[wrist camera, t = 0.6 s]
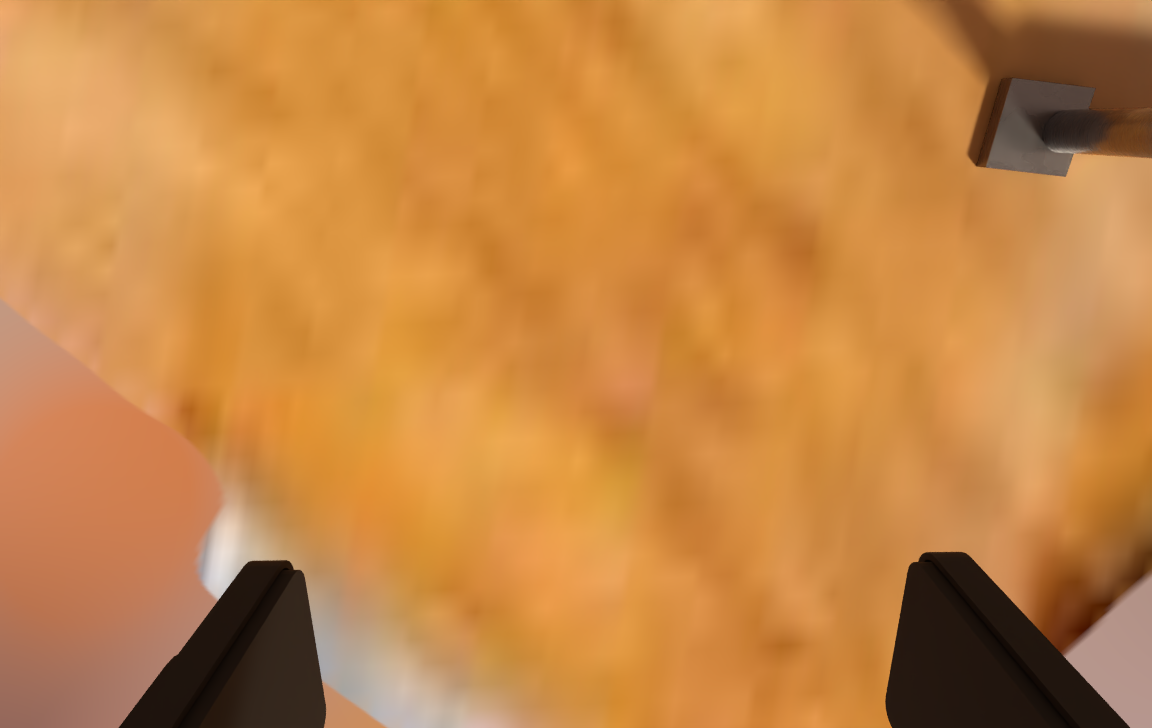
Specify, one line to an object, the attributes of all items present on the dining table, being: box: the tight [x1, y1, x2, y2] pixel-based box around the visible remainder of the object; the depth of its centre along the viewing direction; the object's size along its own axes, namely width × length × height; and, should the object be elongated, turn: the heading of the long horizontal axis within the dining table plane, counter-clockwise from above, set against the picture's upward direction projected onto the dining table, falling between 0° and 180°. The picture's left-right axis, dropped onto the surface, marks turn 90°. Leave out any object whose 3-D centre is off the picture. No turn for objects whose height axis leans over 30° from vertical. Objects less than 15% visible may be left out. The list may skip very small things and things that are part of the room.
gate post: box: [977, 78, 1152, 177], centre depth 34 cm, size 5×5×15 cm
